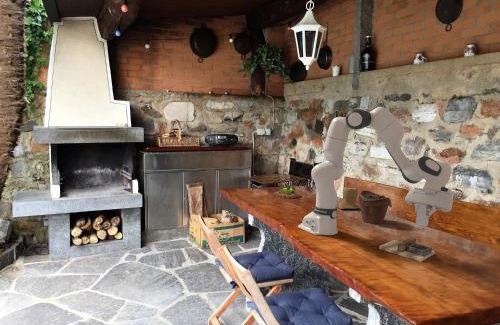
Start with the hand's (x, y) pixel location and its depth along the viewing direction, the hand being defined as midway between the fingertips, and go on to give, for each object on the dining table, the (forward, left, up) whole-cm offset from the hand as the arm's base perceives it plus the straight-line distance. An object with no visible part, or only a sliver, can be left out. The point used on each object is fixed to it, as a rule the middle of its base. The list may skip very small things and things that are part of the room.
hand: (422, 213), depth 166 cm
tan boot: (-71, +51, -20) cm, 89 cm away
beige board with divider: (-6, +1, -20) cm, 21 cm away
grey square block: (0, +1, -5) cm, 5 cm away
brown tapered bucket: (-43, +36, -20) cm, 59 cm away
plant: (-124, +46, -21) cm, 134 cm away
